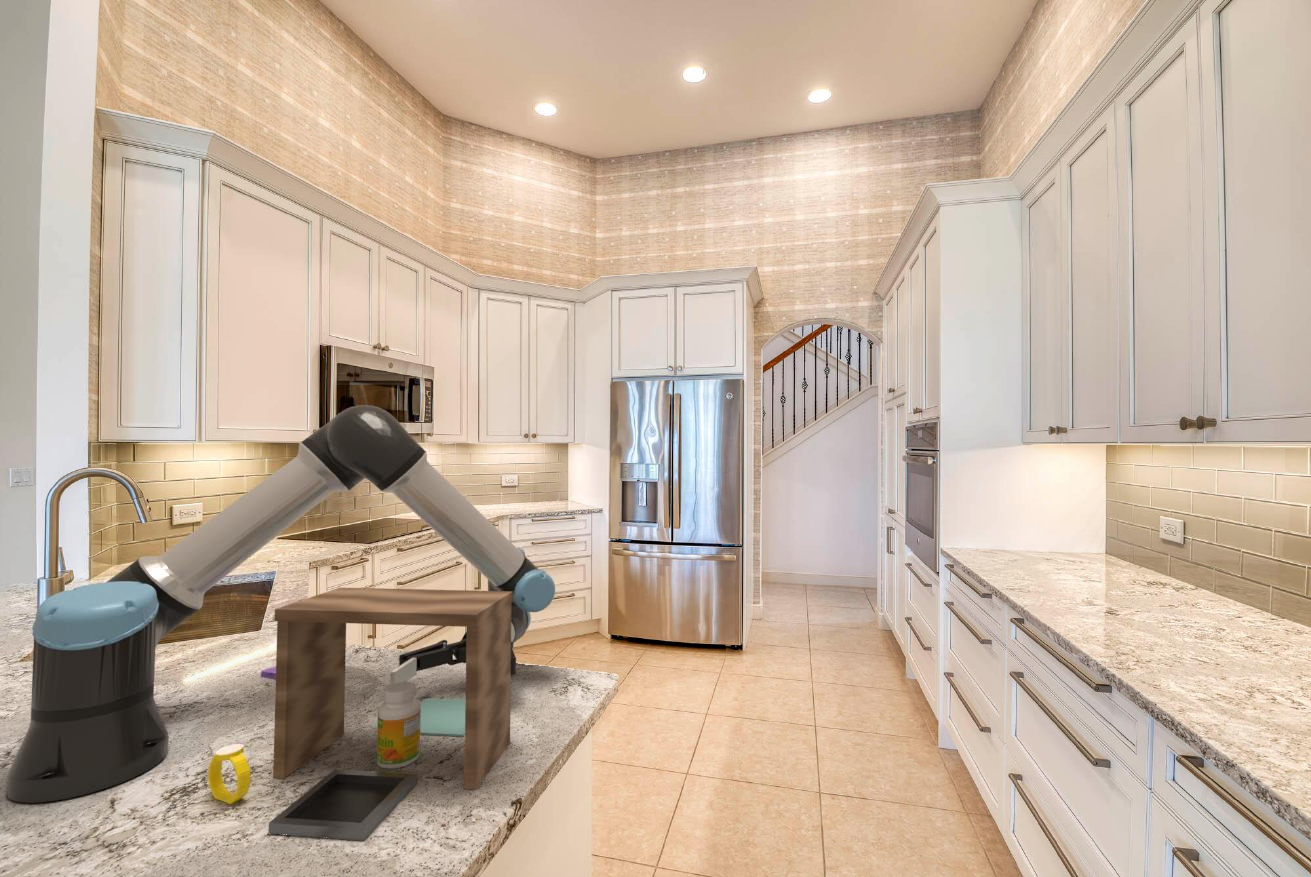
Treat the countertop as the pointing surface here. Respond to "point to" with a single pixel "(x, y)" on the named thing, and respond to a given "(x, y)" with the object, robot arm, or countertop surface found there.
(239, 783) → the watch
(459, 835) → the countertop surface
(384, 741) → the supplement bottle
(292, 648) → the tunnel
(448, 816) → the countertop surface
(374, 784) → the tray
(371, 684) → the countertop surface
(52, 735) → the robot arm
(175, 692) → the countertop surface
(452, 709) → the pad
